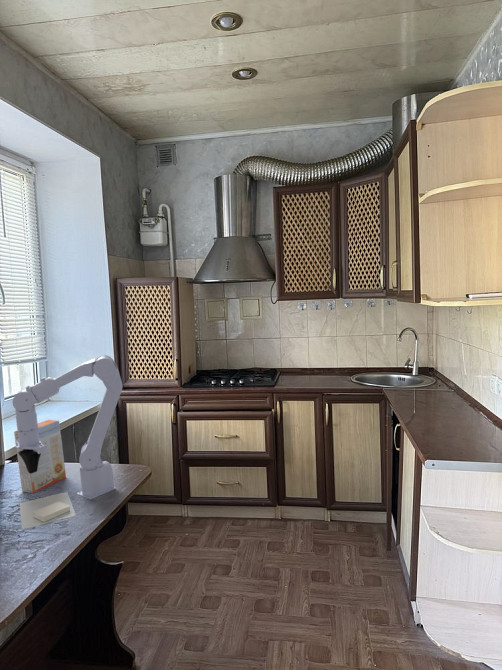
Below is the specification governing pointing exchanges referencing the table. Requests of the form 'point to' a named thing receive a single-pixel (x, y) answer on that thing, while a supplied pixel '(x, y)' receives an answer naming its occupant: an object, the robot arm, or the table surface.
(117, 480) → the table surface
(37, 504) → the mat
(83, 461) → the robot arm
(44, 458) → the cracker box
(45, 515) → the tile
